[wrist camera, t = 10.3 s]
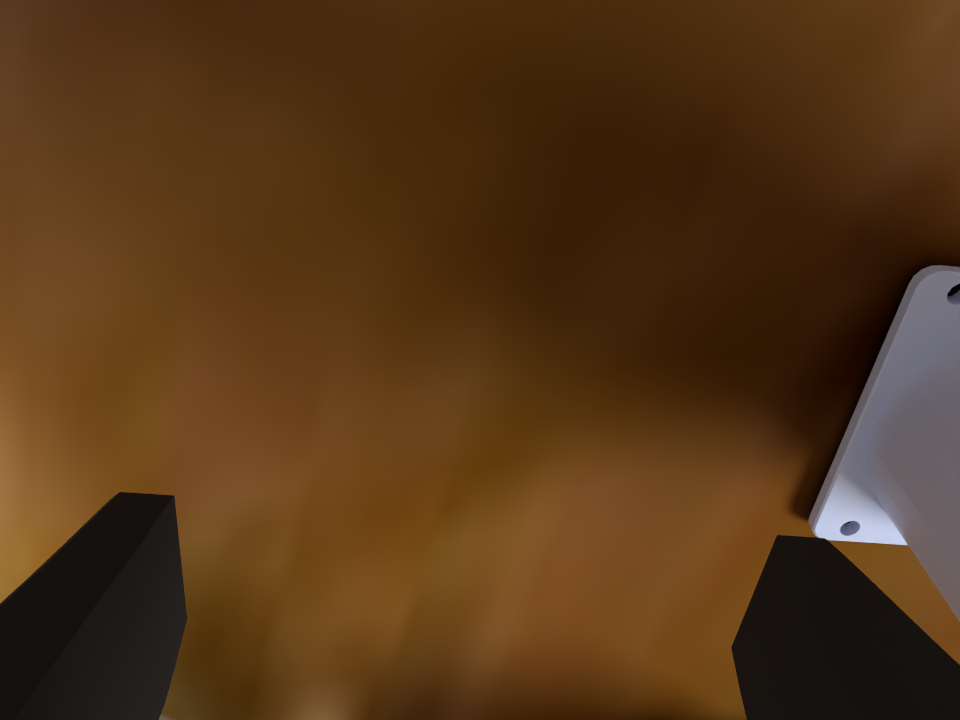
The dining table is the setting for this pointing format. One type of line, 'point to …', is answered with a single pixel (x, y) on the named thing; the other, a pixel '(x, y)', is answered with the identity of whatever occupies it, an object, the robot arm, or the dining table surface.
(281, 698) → the dining table surface
